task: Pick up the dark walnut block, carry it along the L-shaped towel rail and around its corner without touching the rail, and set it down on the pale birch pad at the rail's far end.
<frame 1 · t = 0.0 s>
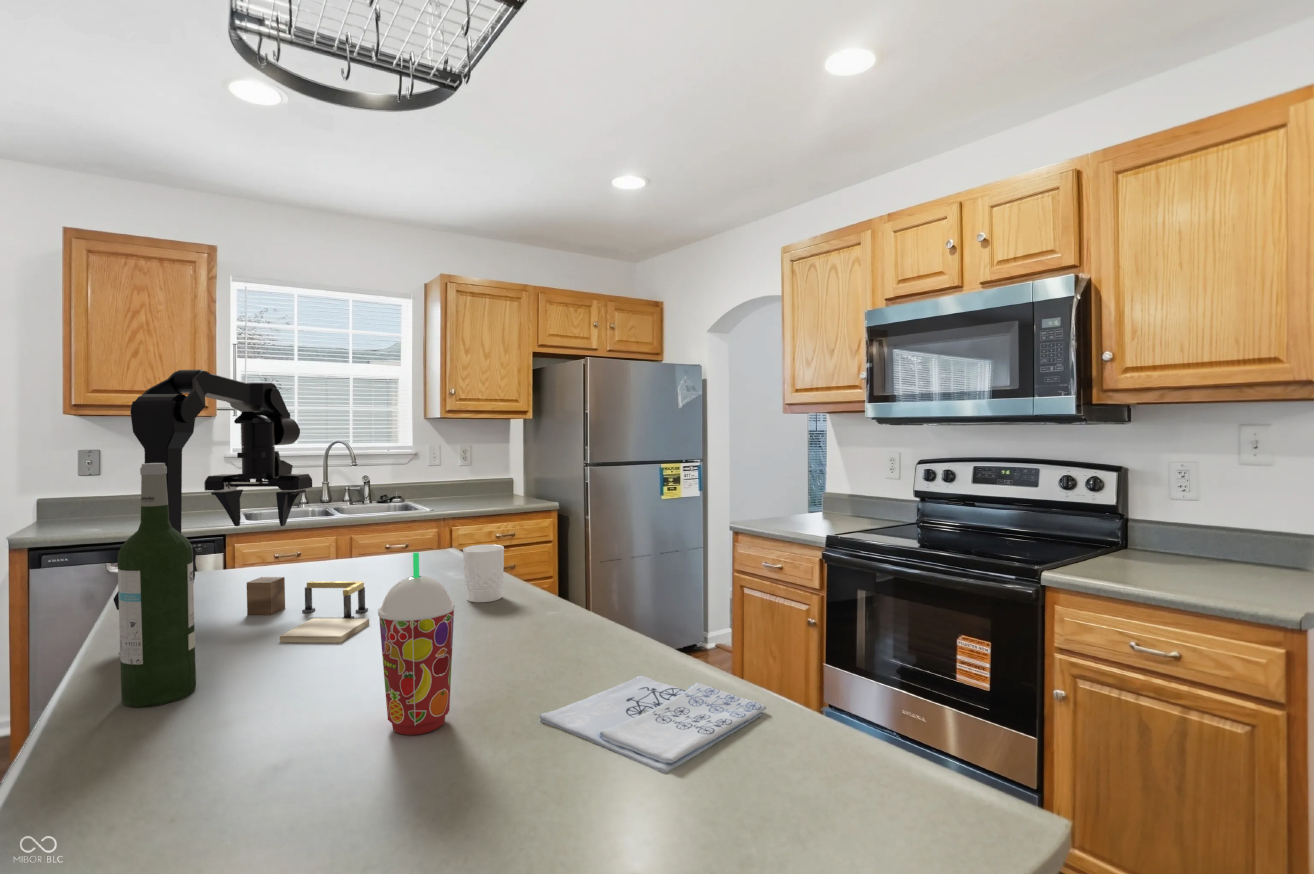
hand: (260, 525, 141), 15 cm above the countertop, fingers open, 9 cm apart
folded bicycle towel: (653, 723, 85), on the countertop
smoothie: (419, 726, 83), on the countertop
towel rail: (361, 611, 132), on the countertop
walnut block: (266, 611, 133), on the countertop
white cup: (484, 599, 141), on the countertop
wine bottle: (159, 697, 92), on the countertop
birch pad: (326, 632, 119), on the countertop
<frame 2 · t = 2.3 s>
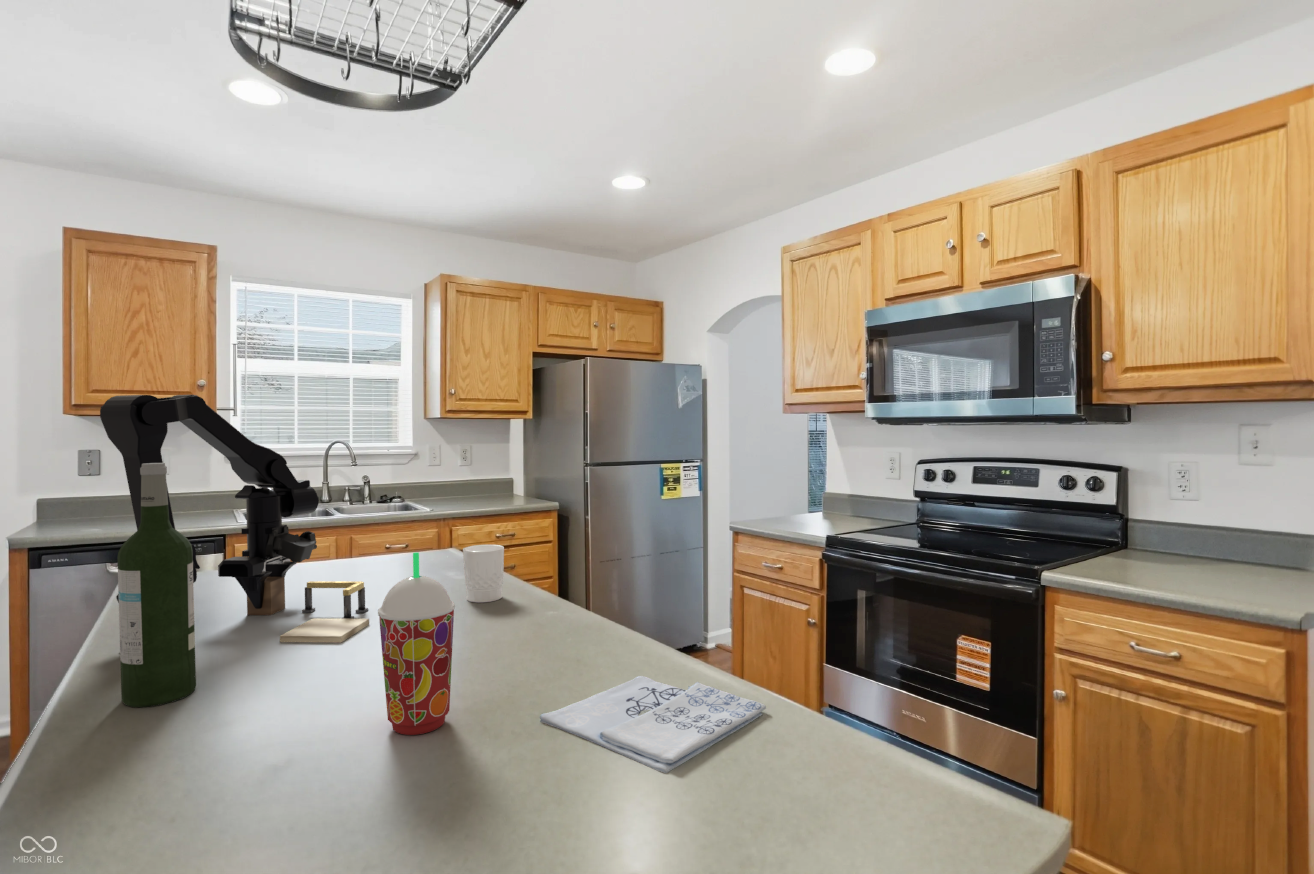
hand: (266, 604, 133), 1 cm above the countertop, fingers closed on walnut block, 4 cm apart
walnut block: (266, 611, 133), on the countertop, touching gripper
everything else where it was.
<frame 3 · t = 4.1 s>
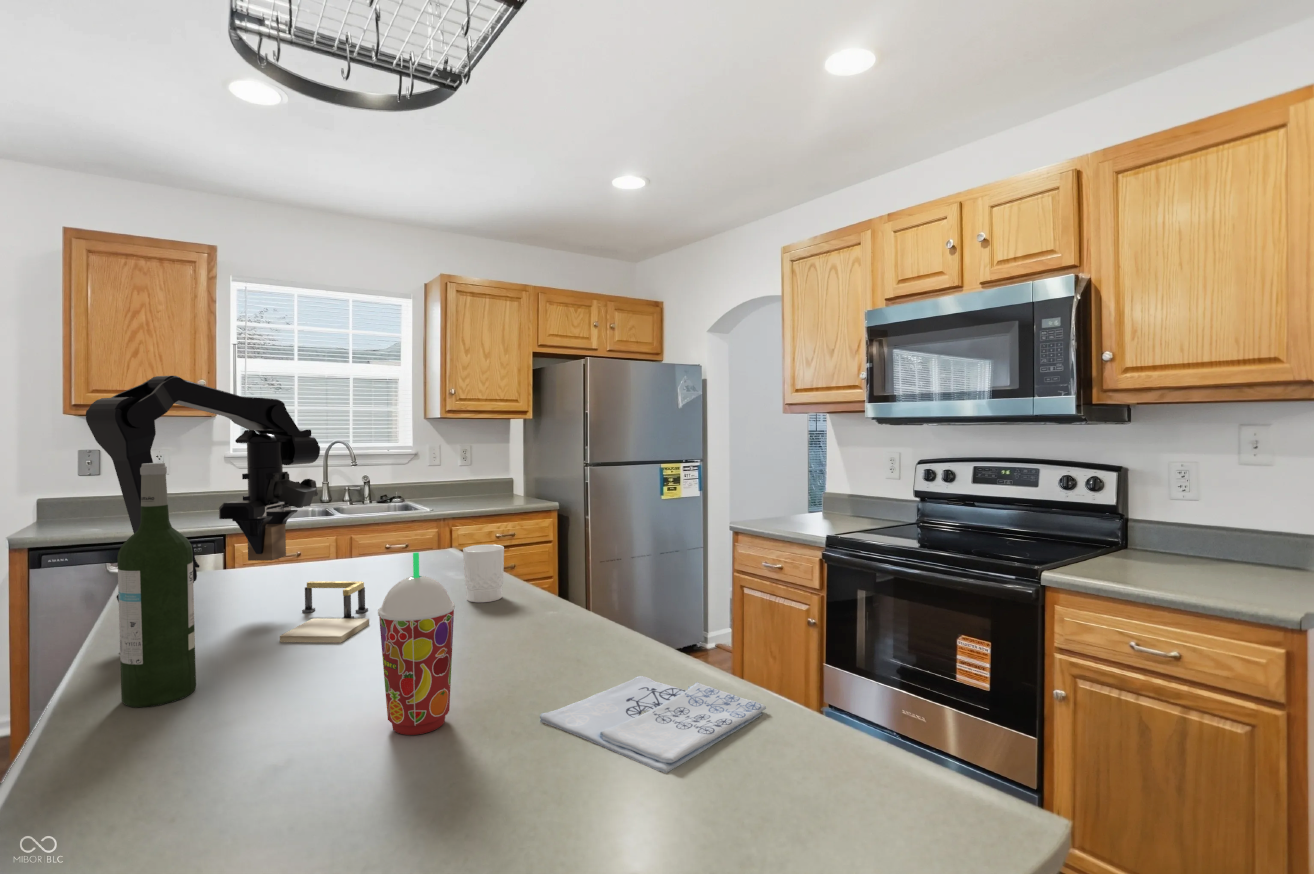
hand: (267, 551, 132), 11 cm above the countertop, fingers closed on walnut block, 4 cm apart
walnut block: (267, 558, 132), point 10 cm above the countertop, touching gripper
everything else where it was.
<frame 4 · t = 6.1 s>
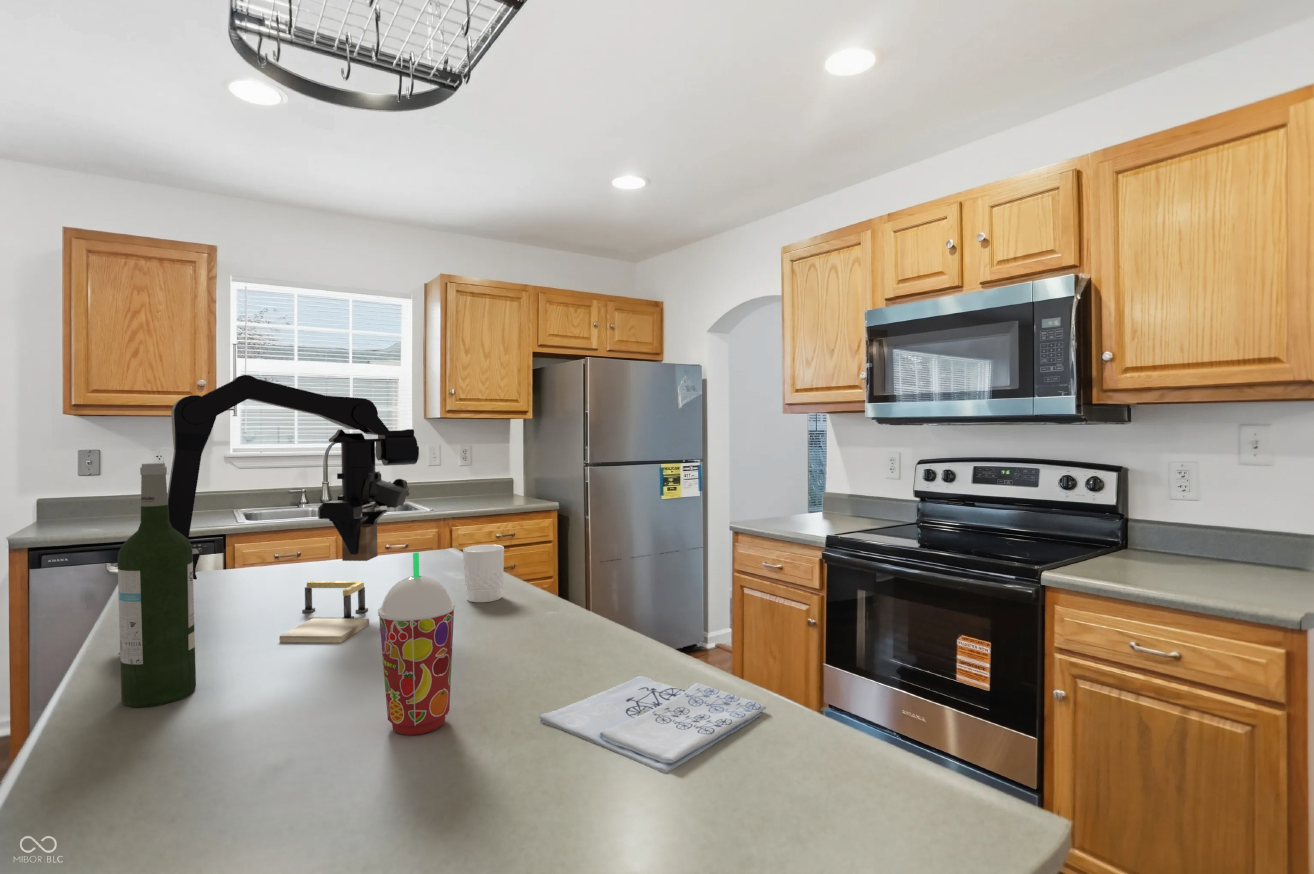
hand: (360, 551, 131), 11 cm above the countertop, fingers closed on walnut block, 4 cm apart
walnut block: (360, 558, 132), point 10 cm above the countertop, touching gripper
everything else where it was.
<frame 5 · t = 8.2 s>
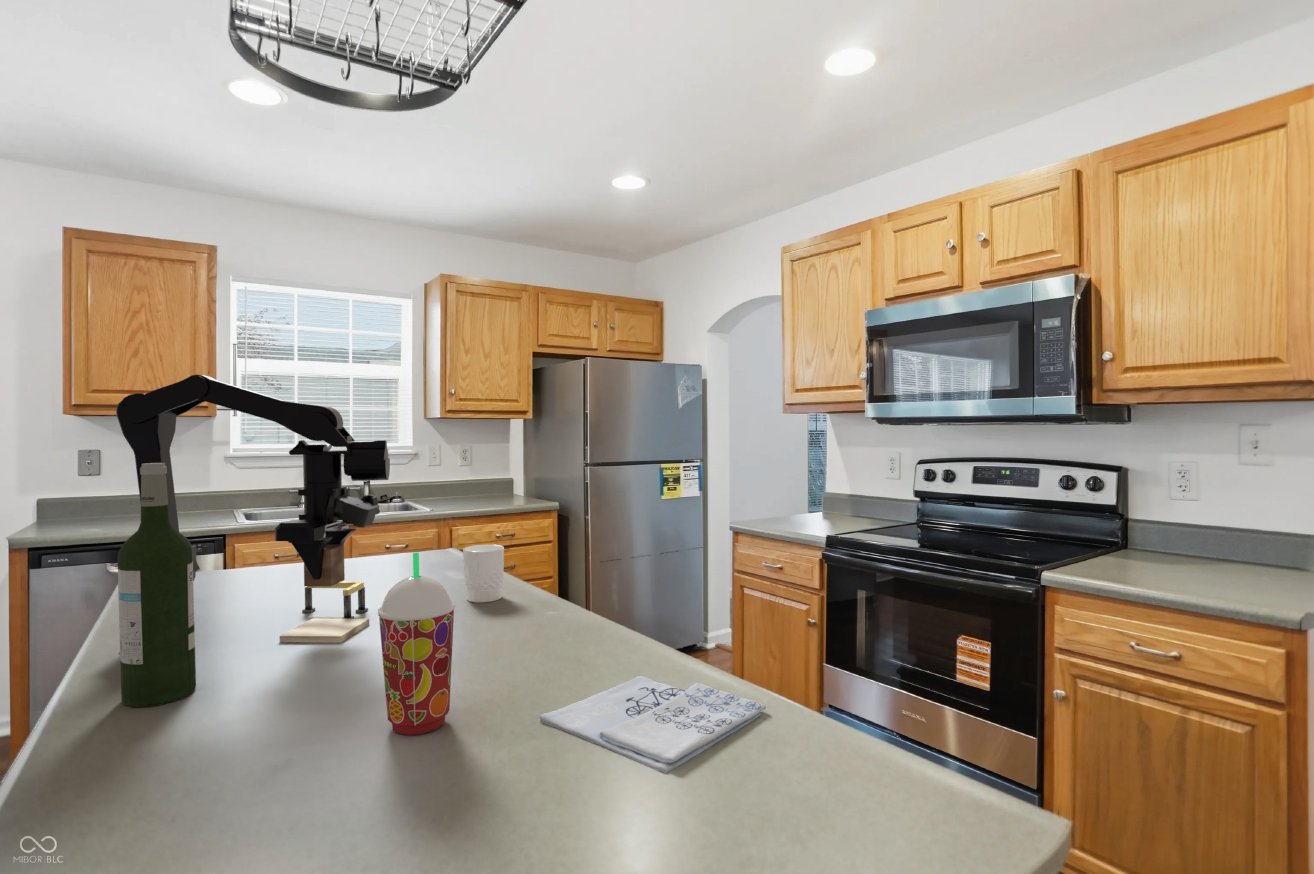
hand: (324, 575, 119), 10 cm above the countertop, fingers closed on walnut block, 4 cm apart
walnut block: (324, 582, 119), point 8 cm above the countertop, touching gripper
everything else where it was.
when the fingers open (4 cm above the countertop, at t = 9.8 s): walnut block drops 1 cm, resting on birch pad.
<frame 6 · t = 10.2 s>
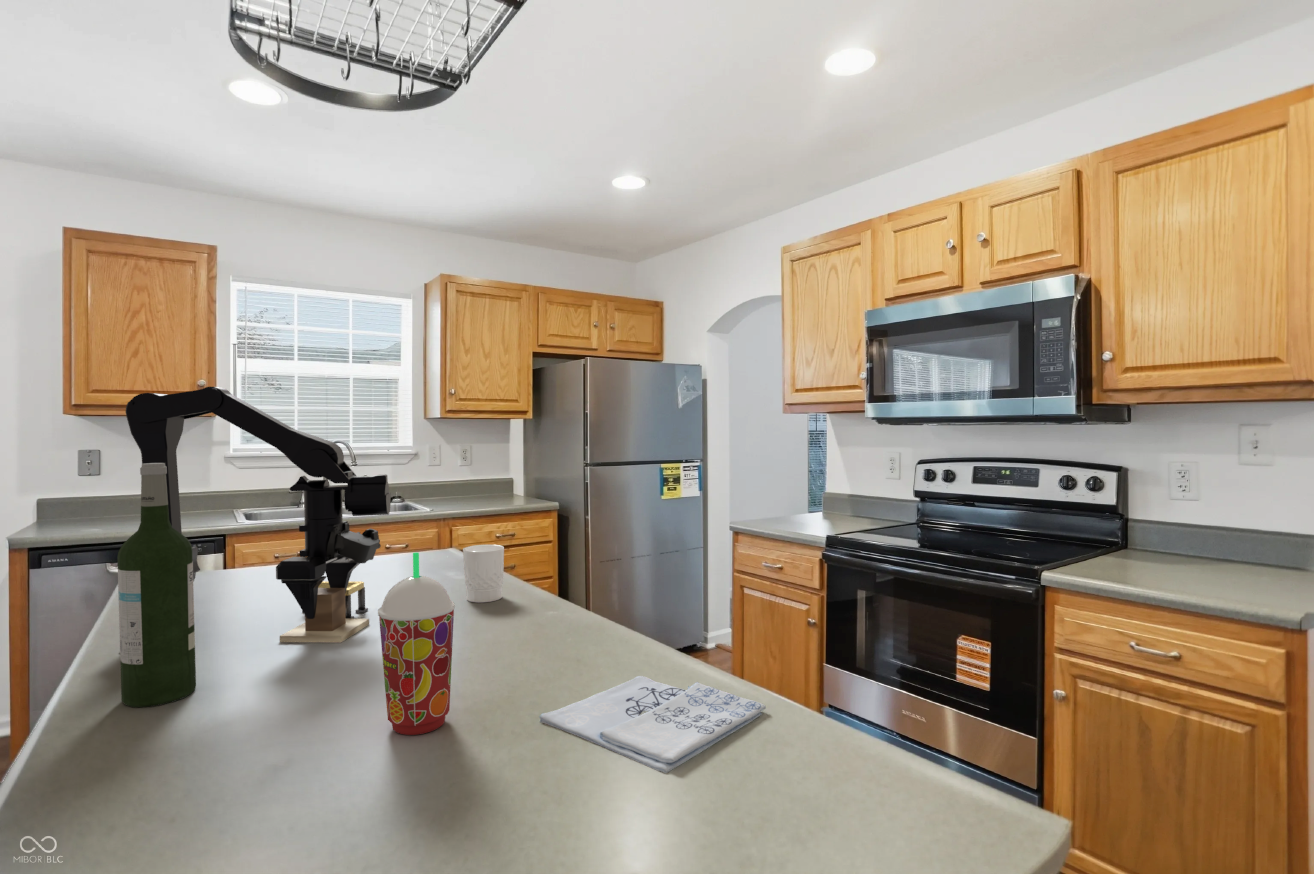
hand: (325, 610, 119), 4 cm above the countertop, fingers open, 9 cm apart
walnut block: (325, 626, 119), point 1 cm above the countertop, touching birch pad
everything else where it was.
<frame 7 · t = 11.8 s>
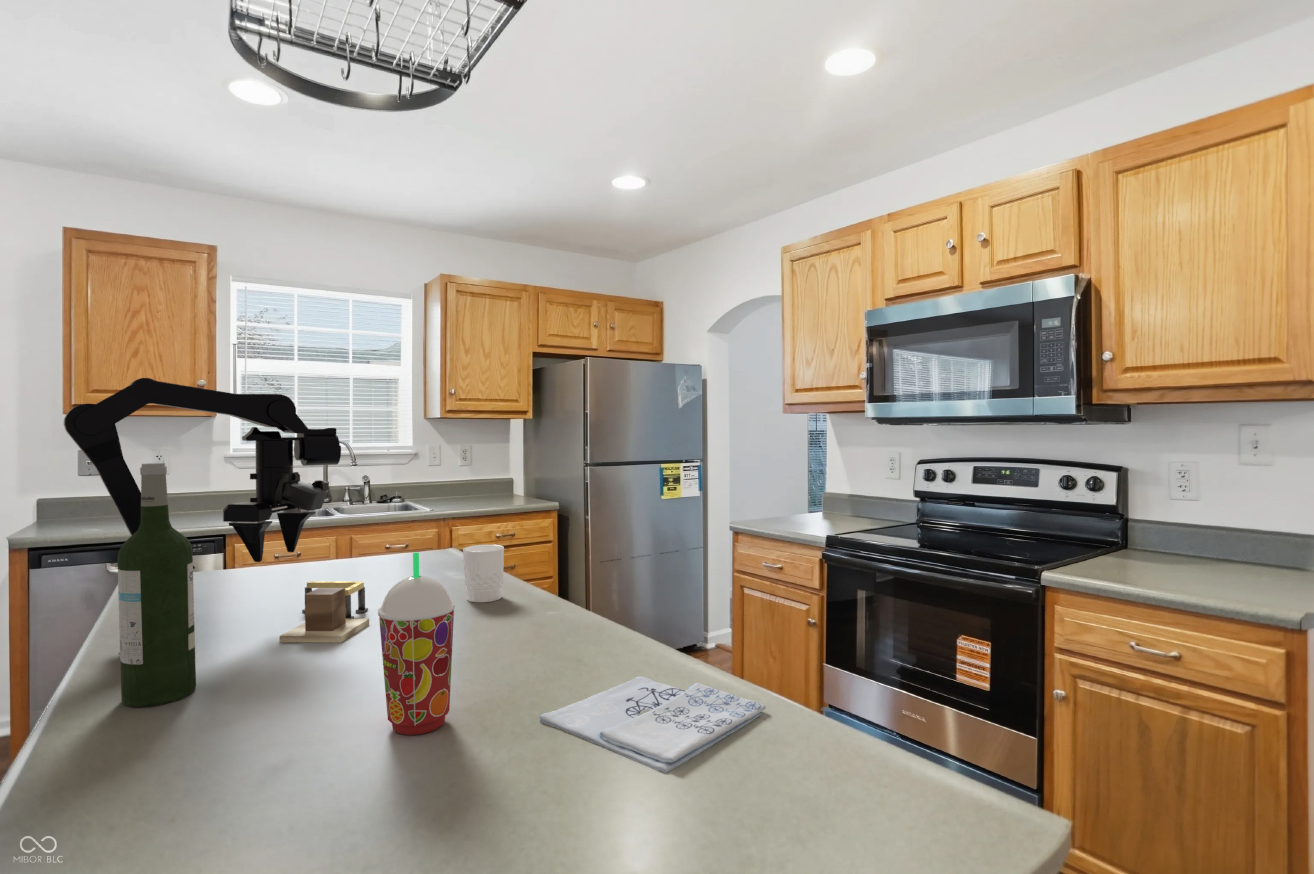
hand: (275, 556, 124), 12 cm above the countertop, fingers open, 9 cm apart
nothing on the countertop moved.
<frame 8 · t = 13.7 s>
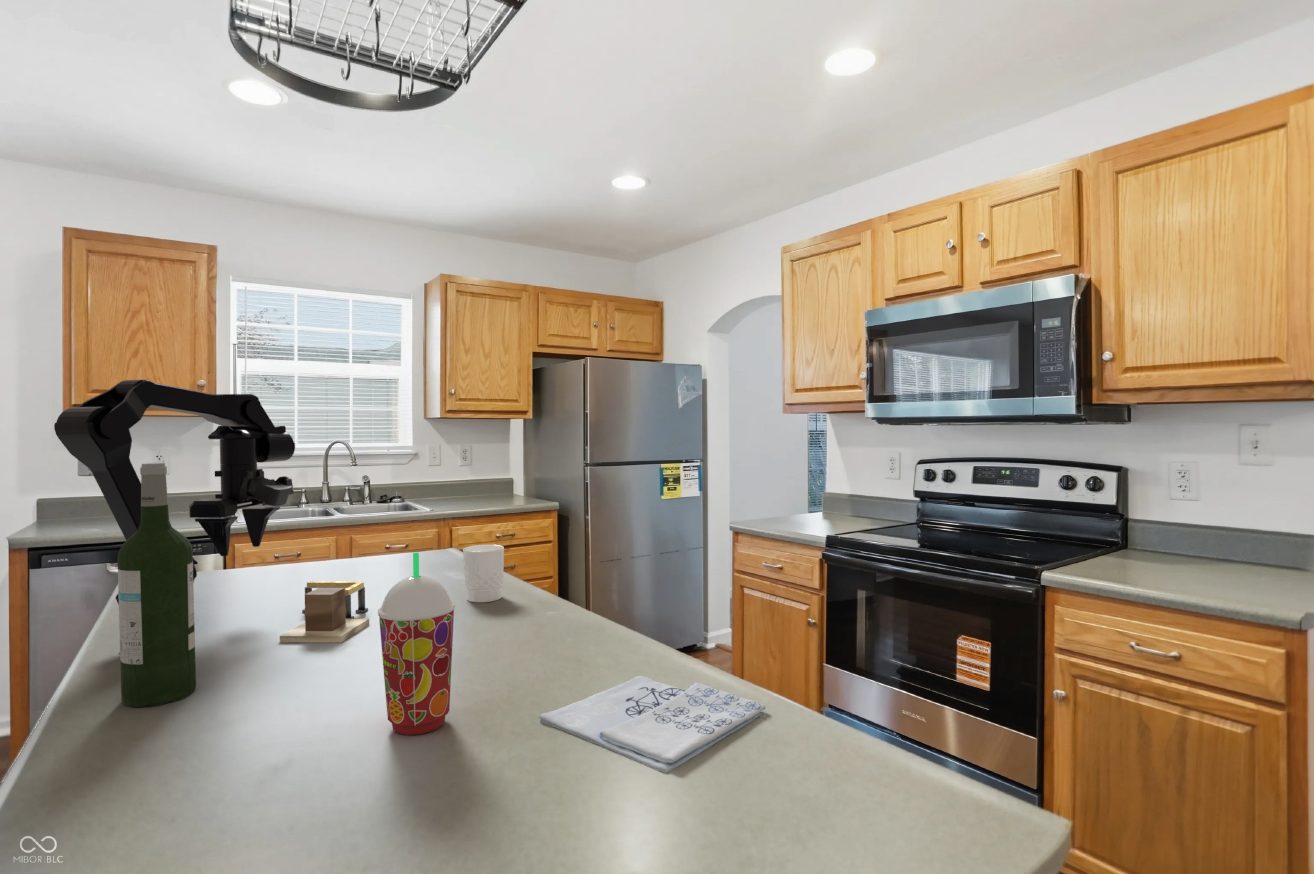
hand: (240, 551, 128), 12 cm above the countertop, fingers open, 9 cm apart
nothing on the countertop moved.
at the end: walnut block inside the target area on the birch pad (0.0 cm from its centre), point 1.0 cm above the birch pad's base; walnut block touching birch pad; walnut block tilted 0° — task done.
